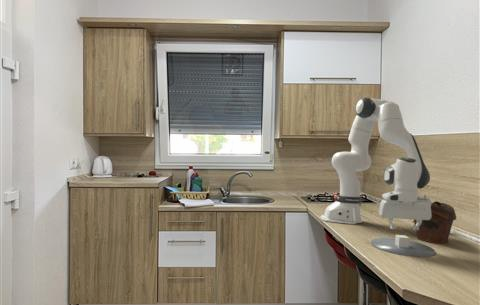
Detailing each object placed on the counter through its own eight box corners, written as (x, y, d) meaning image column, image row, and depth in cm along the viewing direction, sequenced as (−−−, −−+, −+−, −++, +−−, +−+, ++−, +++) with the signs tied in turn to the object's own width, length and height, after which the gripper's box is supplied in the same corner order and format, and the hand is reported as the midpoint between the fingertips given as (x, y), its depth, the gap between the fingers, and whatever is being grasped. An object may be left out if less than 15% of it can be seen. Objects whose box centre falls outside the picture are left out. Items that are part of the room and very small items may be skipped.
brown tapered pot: (446, 236, 162) (447, 199, 162) (461, 247, 143) (463, 206, 142) (406, 232, 167) (407, 197, 167) (416, 243, 148) (417, 203, 147)
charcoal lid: (382, 255, 128) (383, 242, 128) (363, 238, 152) (364, 227, 152) (447, 259, 126) (447, 246, 126) (417, 242, 150) (418, 231, 150)
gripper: (427, 196, 141) (426, 229, 141) (378, 194, 143) (377, 226, 143) (435, 198, 135) (433, 232, 135) (383, 196, 136) (382, 229, 136)
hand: (404, 229), depth 139 cm, fingers open, 8 cm apart
